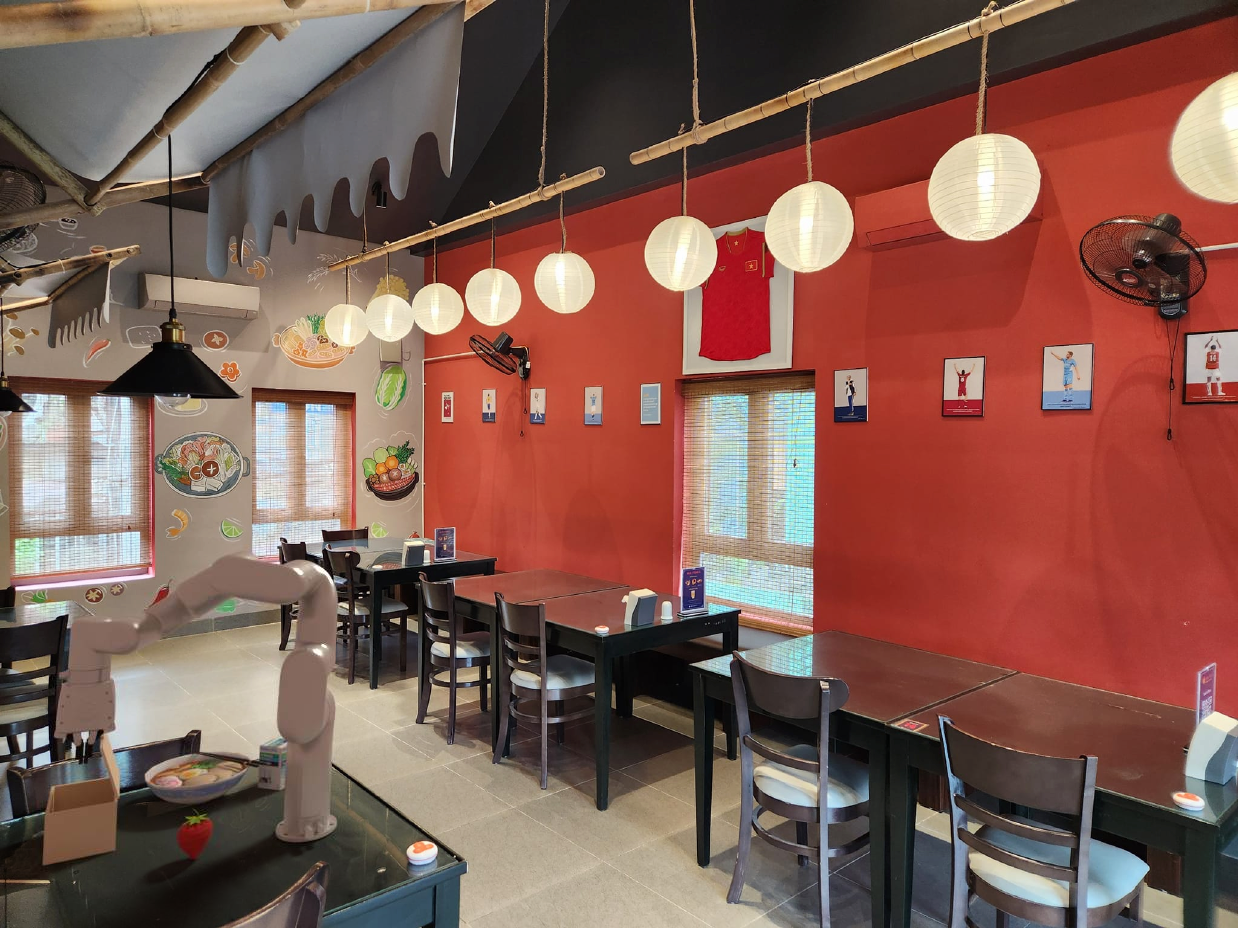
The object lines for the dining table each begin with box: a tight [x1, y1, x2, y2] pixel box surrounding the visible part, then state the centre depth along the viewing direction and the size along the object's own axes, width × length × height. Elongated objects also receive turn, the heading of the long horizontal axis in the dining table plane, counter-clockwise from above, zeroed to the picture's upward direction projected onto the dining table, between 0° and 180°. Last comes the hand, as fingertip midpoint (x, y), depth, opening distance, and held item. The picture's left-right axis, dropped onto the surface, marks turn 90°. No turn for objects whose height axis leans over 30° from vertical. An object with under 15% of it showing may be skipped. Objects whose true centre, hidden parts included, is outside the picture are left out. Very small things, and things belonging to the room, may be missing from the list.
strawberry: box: [176, 808, 214, 860], centre depth 153 cm, size 6×8×10 cm
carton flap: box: [99, 733, 121, 800], centre depth 162 cm, size 16×12×1 cm
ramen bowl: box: [144, 749, 265, 805], centre depth 182 cm, size 25×23×8 cm
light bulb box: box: [257, 735, 287, 791], centre depth 193 cm, size 11×7×11 cm, turn 168°
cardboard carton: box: [42, 776, 118, 866], centre depth 159 cm, size 16×12×10 cm
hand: (83, 761), depth 159 cm, fingers closed
